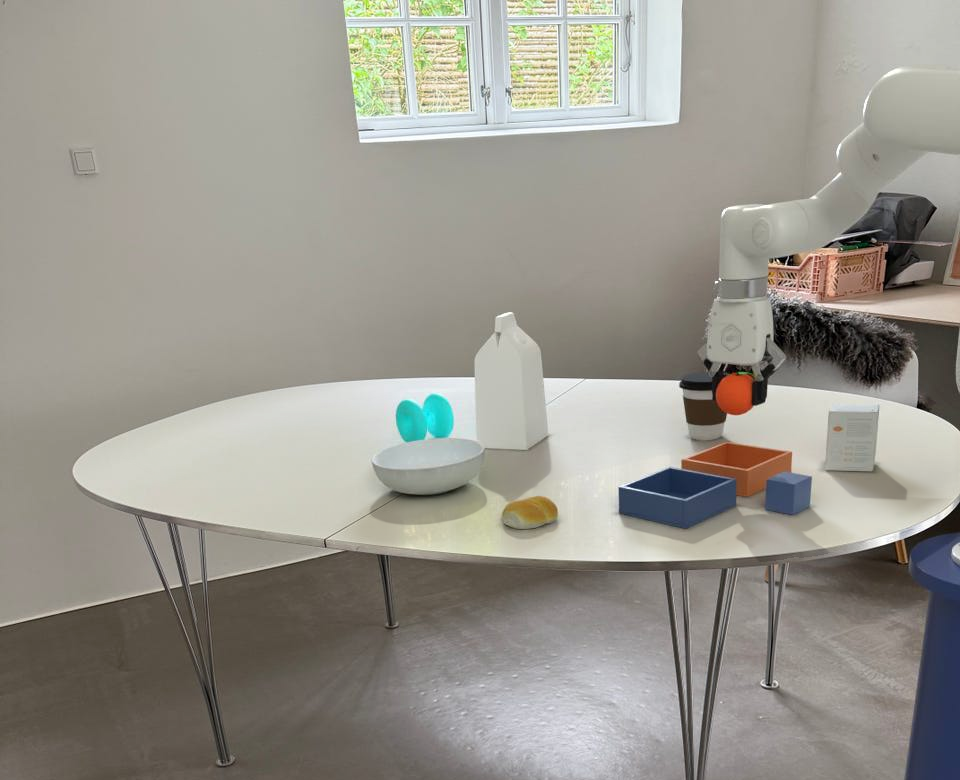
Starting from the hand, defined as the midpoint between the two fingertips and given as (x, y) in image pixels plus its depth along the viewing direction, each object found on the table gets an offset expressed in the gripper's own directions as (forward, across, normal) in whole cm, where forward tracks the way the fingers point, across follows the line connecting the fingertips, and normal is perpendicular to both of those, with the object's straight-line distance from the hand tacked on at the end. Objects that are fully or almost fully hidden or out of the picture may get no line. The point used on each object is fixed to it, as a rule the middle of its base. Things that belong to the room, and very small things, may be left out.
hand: (738, 400), depth 159 cm
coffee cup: (+14, -22, +23) cm, 35 cm away
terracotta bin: (+14, 0, +1) cm, 14 cm away
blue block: (+14, +14, -7) cm, 21 cm away
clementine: (+2, 0, 0) cm, 2 cm away
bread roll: (+14, -16, -35) cm, 41 cm away
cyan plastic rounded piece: (+14, -72, -10) cm, 75 cm away
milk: (+14, -56, 0) cm, 57 cm away
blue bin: (+14, 0, -17) cm, 22 cm away
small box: (+14, +12, +18) cm, 26 cm away
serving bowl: (+14, -45, -32) cm, 57 cm away
